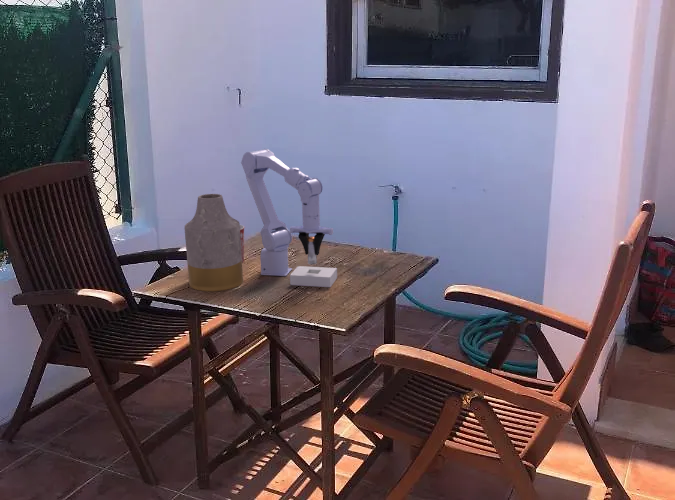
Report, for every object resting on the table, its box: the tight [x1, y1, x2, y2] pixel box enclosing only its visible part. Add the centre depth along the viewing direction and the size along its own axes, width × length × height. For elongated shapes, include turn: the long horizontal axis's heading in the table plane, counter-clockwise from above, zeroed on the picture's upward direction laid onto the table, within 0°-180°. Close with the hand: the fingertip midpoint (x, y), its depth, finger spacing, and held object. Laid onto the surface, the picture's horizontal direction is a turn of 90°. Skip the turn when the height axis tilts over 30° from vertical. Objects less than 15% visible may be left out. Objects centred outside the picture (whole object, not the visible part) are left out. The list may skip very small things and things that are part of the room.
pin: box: [307, 235, 318, 265], centre depth 246 cm, size 3×3×9 cm
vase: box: [184, 193, 244, 293], centre depth 247 cm, size 18×18×30 cm
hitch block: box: [289, 265, 338, 288], centre depth 250 cm, size 14×10×4 cm
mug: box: [240, 224, 246, 264], centre depth 272 cm, size 13×9×14 cm
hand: (312, 254), depth 247 cm, fingers closed on pin, 3 cm apart
